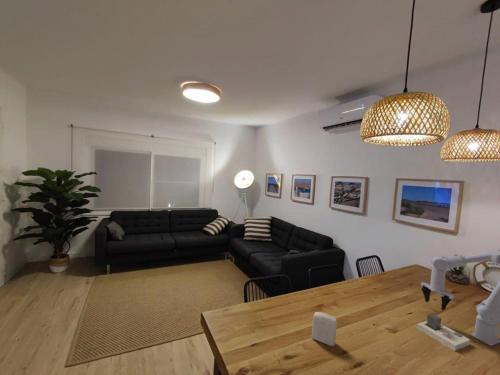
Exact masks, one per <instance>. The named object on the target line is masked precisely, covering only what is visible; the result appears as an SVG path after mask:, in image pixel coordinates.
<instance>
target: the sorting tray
mask: <svg viewBox="0 0 500 375" xmlns="http://www.w3.org/2000/svg"><path fill="white" fill-rule="evenodd" d="M416 326H417V327H416V329H417V330H419V331H421V332H422V333H424V334H426V335H427V336H428V337H430V338H432V339H434V340H435V341H437V342H438V343H441V344H442V345H444V346H445V347H447V348H448V349H451V350H452V351H454V352H456V351H458V350H460V349H463V348H466V347H468V346H470V344H471V339H470V338H468V337H467V336H464V335H463V334H461V333H458V332H457V331H455V330H453V329H451V328H449V327H447V325H446V326H445V325H444V324H442V323H441V327H440V330H438V331H435V330H433V329H431V328H429V327H428V326H427V320H425V321H422V322H419V323H417V325H416Z"/></svg>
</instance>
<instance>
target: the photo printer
mask: <svg viewBox="0 0 500 375" xmlns="http://www.w3.org/2000/svg"><path fill="white" fill-rule="evenodd" d="M312 319H313V320H312V327H311V328H312V329H311V339H313V340H315V341H318V342H320V343H323V344H325V345H328V346H330V347H334V346H336V337H337V327H338V324H337V319H336V317H334V316H332V315H330V314H328V313H326V312H320V311H315V313H314V314H313V317H312Z"/></svg>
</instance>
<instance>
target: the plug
mask: <svg viewBox="0 0 500 375" xmlns="http://www.w3.org/2000/svg"><path fill="white" fill-rule="evenodd" d="M426 318H427V319H426V321H427V326H428V327H429V328H431V329H433V330H435V331H438V330H440V327H441V324H442V317H440V316H438V315H435V314H434V313H429V314H428V315H427V317H426Z"/></svg>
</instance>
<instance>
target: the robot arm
mask: <svg viewBox="0 0 500 375" xmlns="http://www.w3.org/2000/svg"><path fill="white" fill-rule="evenodd" d="M482 262H490V263H493V264H496V265H500V249H498V250H494V249H493V250H488V251H485V252H479V253H474V254H473V253H472V254H469V255H461V254H457V253H452V255H448V256H447V255H446V256H445V255H441V256H435V257H433V258H432V259H431V264H432V268H431V273H430V281H429V282H430V284H429V283H427V282H424V281H423V282H421V283H420V287H421V289H420V290H421V291H422V294H423V296H424V301H425V303H428V302H430V297H431V293H432V292H434V293H437V294H440V295H441V296H440V300H441V307H440V309H441V310H442V311H445V310H446V308H447V306H448V305H449V304H450V302H451V301H452V300H454V298H455V294H453V293H450V292H449V291H448V290H445V283H446V275H447V274H446V273H447V272H446V271H447V270H448V269H454V268H459V267H465V266H466V265H467V264H470V263H471V264H472V263H482ZM475 311H476V312H477V315H476V317H475V318H476V319H475V326H474V332H472V333H470V334H469V335H470V337H473V338H475V339H477V340H478V341H480V342H483V343H484V344H487V345H488V346H491V347H492V346H495V345H497V344H499V343H500V325H499V324H500V280H499V281H498V282H497V284H496V286H495V287H494V289H493V290H492V292H490V295H489V296H488V298H486V299H483V300H482V302H480V303H479V304H476V307H475Z"/></svg>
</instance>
